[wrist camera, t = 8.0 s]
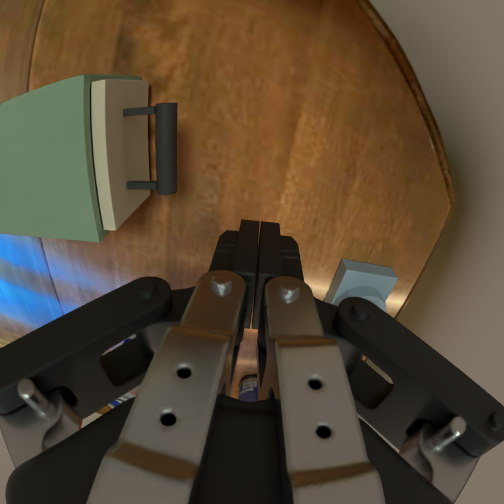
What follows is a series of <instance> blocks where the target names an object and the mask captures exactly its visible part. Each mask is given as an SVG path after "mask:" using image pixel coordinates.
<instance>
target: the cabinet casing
mask: <svg viewBox="0 0 504 504" xmlns="http://www.w3.org/2000/svg"><path fill="white" fill-rule="evenodd" d="M104 79H115V80H141V77H139V76H126V75H104V74H83V75H79V76H75V77H72V78H68V79H65V80H62V81H58V82H55V83H52V84H49V85H46V86H43V87H40V88H38V89H35V90H32V91H30V92H27V93H24V94H22V95H20V96H17V97H15V98H12V99H10V100H8V101H6V102H3V103H1V104H0V233H2V234H13V235H24V236H35V237H45V238H56V239H67V240H78V241H90V242H100V241H101V240H102V239H103V238H104V237H105V236H106V234H107V233H108V232H109V231H110V230H104V228H103V222H102V217H101V211H100V212H99V207H98V201H97V194H96V187H95V179H94V170H93V160H92V148H91V132H90V93H91V85H92V82H95V81H99V80H104Z"/></svg>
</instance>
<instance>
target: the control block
mask: <svg viewBox="0 0 504 504" xmlns="http://www.w3.org/2000/svg"><path fill="white" fill-rule="evenodd" d="M397 280H398V278H397V276H396V274H395V273H394V271H393V269H392V268H389V267H384V266H379V265H374V264H368V263H363V262H358V261H352V260H347V259H342V260H341V263H340V265H339V268H338V270H337V273H336V275H335V277H334V280H333V282H332V284H331V287H330V289H329V291H328V293H327V296H326V298H325V300H324V302H326V303H330V304H333V305H336V306H339V303H340V302H341V301H342V300H343V299H345V298H347V297H361V298H364V299H367V300H369V301H371V302H372V303H374V304H375V305H377V306H378V307H379V308H381V309H382V310H383V311H385V312H386V303H385V301H386V299H387V298H388V296H389V294H390V292H391V290H392V289H393V287H394V285H395V283H396V281H397Z"/></svg>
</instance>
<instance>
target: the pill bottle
mask: <svg viewBox="0 0 504 504" xmlns="http://www.w3.org/2000/svg"><path fill="white" fill-rule="evenodd" d="M238 400H241V401H245V402H253V401H258V381H257V375H250V376H246V377H244V378H243V379H242V380H241V381H240V384H239V398H238Z"/></svg>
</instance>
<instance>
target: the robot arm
mask: <svg viewBox="0 0 504 504" xmlns="http://www.w3.org/2000/svg"><path fill="white" fill-rule="evenodd" d="M259 222H260V221H252V220H242V219H241V224H240V229H239V231H230V230H227V231H225V232H224V233H223V234H222V235H220V236H219V240H218V243H217V246H216V249H215V252H214V256H213V259H212V262H211V265H210V269H209V272H208V273H206V274H204V275H203V276H202V277H201V278H200V279H199V281H198V283H197V285H196V286H194V287H191V288H187V289H178V290H171V288H170V285H169V284H168V283H167V282H166V281H165V280H163V279H161V278H158V277H142V278H139V279H136V280H134V281H132V282H130V283H128V284H126V285H124V286H121V287H119V288H117V289H115V290H113V291H111V292H109V293H107V294H105V295H103V296H101V297H99V298H97V299H95V300H93V301H91V302H89V303H87V304H85V305H83V306H81V307H79V308H77V309H75V310H73V311H71V312H69V313H67V314H65V315H63V316H61V317H59V318H57V319H55V320H53V321H51V322H50V323H48V324H46V325H44V326H42V327H40V328H38V329H36V330H34V331H32V332H30V333H28V334H27V335H25V336H23V337H21V338H19V339H17V340H15V341H13V342H12V343H10V344H8V345H6V346H4V347H2V348H0V429H1V432H2V435H3V438H4V441H5V444H6V446H7V449H8V451H9V454H10V456H11V459H12V461H13V463H14V466H15V468H16V469H15V470H14V471H13V472H12V474H11V475H10V477H9V479H8V482H7V485H6V494H5V495H6V503H7V504H454V503H455V501H456V500H457V498H458V497H459V495H460V493H461V492H462V490H463V488H464V487H465V485H466V483H467V481H468V479H469V478H470V476H471V474H472V472H473V470H474V468H475V466H476V464H477V463H478V460H479V458H480V457H481V456H482V455H483V454H484V453H486V452H488V451H489V450H491V449H492V448H494V447H495V446H496V445H498V444H500V443H501V442H502V441H503V440H504V406H503V405H502V404H501V403H499V402H498V401H497V400H496V399H495V398H493V397H492V396H491V395H490V394H489V393H487V392H486V391H485V390H484V389H483V388H481V387H480V386H479V385H478V384H477V383H475V382H474V381H473V380H472V379H471V378H469V377H468V376H467V375H466V374H464V373H463V372H462V371H461V370H459V369H458V368H457V367H456V366H454V365H453V364H452V363H451V362H449V361H448V360H447V359H446V358H444V357H443V356H442V355H441V354H439V353H438V352H437V351H436V350H434V349H433V348H432V347H430V346H429V345H428V344H427V343H425V342H424V341H422V340H421V339H420V338H419V337H417V336H416V335H415V334H414V333H412V332H411V331H410V330H408V329H407V328H406V327H404V326H403V325H402V324H400V323H399V322H398V321H397V320H395V319H394V318H393V317H391V316H390V315H389V314H387V313H386V312H385V311H383V310H382V309H381V308H379V307H378V306H377V305H375V304H374V303H372V302H371V301H369V300H367V299H364V298H361V297H347V298H345V299H343V300H342V301H341V302H340V303H339V306H336V305H333V304H330V303H326V302H323V301H321V300H319V299H317V298H315V297H314V296H313V294H312V290H311V288H310V287H309V286H308V285H307V284H306V283H305V282H304V278H303V271H302V265H301V260H300V254H299V248H298V243H297V242H296V241H295V240H294V239H293V238H292V237H291V236H281V235H280V225H279V223H273V222H263V221H261V226H260V235H259ZM258 238H259V244H258ZM254 288H255V290H254ZM253 297H254V304H253ZM252 305H253V318H252V329H258V339H257V345H256V358H257V381H258V401H253V402H245V401H241V400H238V399H235V398H232V397H230V395H231V389H232V385H233V380H234V375H235V370H236V365H237V361H238V356H239V351H240V344H241V342H242V340H243V335H244V328H249V329H250V322H251V314H252ZM134 334H135V335H136V337H135V338H133V339H131V340H130V341H128V342H126V343H124V344H123V345H121V346H119V347H117V348H116V349H114V350H112V351H110V352H109V353H107V354H105V355H103V356H102V354H103V353H104V352H105V351H106V350H108V349H109V348H111V347H113V346H115V345H116V344H118V343H120V342H122V341H123V340H125V339H127V338H129V337H130V336H132V335H134ZM363 355H365V356H366V357H367V358H368V359H369V360H371V361H372V362H373V363H374V364H375V365H376V366H378V367H379V368H380V369H381V370H382V371H384V372H385V373H386V374H388V376H389V377H390V378H391V379H392V381H393V384H391V383H389V382H388V381H386V380H385V379H384V378H383V377H382V376H380V375H379V374H378V373H377V372H376V371H374V370H373V369H372V368H371V367H370V366H368V364H366V363H365V362H364V361H363V360H362V357H363ZM140 384H141V386H140V388H139V391H138V393H137V395H136V396H135V397H132V398H130V399H128V400H126V401H124V402H122V403H120V404H119V405H117V406H116V407H114V408H113V409H111V410H110V411H108V412H107V413H105V414H103V415H102V416H100V417H99V418H97V419H96V420H94V421H93V422H91V423H90V424H88V425H86V426H85V427H83V428H82V429H80V430H79V426H80V421H81V420H83V419H84V418H86V417H88V416H90V415H91V414H93V413H95V412H96V411H98V410H100V409H101V408H103V407H105V406H106V405H108V404H110V403H111V402H113V401H115V400H116V399H118V398H120V397H121V396H123V395H124V394H126V393H128V392H129V391H131V390H132V389H134V388H136V387H137V386H139V385H140ZM357 413H358V414H359V415H361V416H362V417H363V418H364V419H365V420H366V421H367V422H368V423H369V424H370V425H372V426H373V427H374V428H375V429H376V430H377V431H378V432H379V433H380V434H382V435H383V436H384V437H385V438H386V439H387V440H388V441H390V442H391V443H392V444H393V445H394V446H395V447H396V448H398V449H399V450H400V451H399V454H398V453H397V452H396V451H395V450H394V449H393V448H392V447H391V446H390V445H389V444H388V443H386V441H384V440H383V439H382V438H381V437H380V436H379V435H378V434H377V433H376V432H375V431H374V430H373V429H372V428H371V427H370V426H369V425H368V424H367V423H365V422H364V421H363V420H361V419H360V418H359V417H358V415H357Z"/></svg>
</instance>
